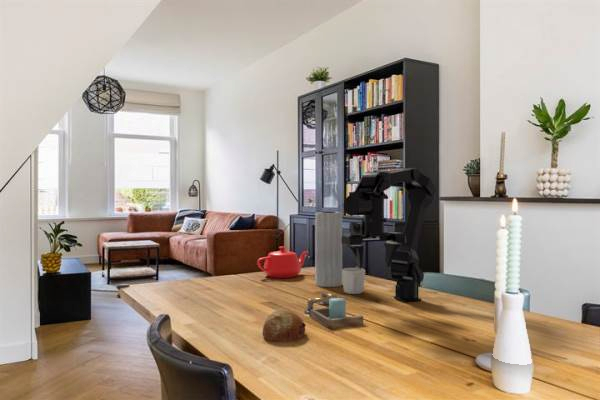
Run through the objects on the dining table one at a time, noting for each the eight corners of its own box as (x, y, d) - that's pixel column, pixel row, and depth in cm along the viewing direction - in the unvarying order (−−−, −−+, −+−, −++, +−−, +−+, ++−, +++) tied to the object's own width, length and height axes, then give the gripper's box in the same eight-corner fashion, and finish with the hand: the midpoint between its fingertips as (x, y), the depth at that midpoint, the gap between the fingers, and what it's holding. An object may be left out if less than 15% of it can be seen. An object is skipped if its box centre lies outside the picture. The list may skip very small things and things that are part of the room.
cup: (364, 297, 148) (364, 273, 148) (339, 296, 149) (339, 272, 149) (365, 291, 158) (366, 268, 158) (343, 290, 160) (343, 267, 160)
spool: (341, 317, 125) (341, 297, 125) (350, 321, 120) (350, 301, 120) (324, 318, 123) (324, 298, 123) (332, 323, 118) (333, 302, 118)
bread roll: (269, 344, 113) (255, 315, 113) (307, 326, 114) (293, 297, 113) (270, 358, 103) (255, 327, 103) (311, 338, 104) (296, 307, 104)
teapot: (267, 282, 175) (267, 250, 175) (248, 276, 188) (248, 246, 187) (319, 275, 189) (319, 246, 189) (298, 270, 202) (298, 243, 202)
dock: (341, 313, 129) (341, 306, 129) (363, 324, 118) (363, 316, 118) (309, 316, 125) (309, 309, 125) (328, 328, 114) (328, 320, 114)
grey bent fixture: (326, 301, 142) (326, 289, 142) (344, 310, 132) (344, 297, 131) (292, 305, 138) (292, 292, 138) (307, 314, 127) (307, 301, 127)
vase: (324, 281, 176) (324, 211, 176) (347, 284, 170) (347, 211, 170) (310, 285, 168) (310, 212, 168) (333, 288, 162) (333, 212, 162)
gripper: (386, 213, 144) (386, 262, 145) (333, 214, 138) (333, 265, 138) (407, 214, 134) (406, 267, 134) (350, 215, 127) (350, 271, 127)
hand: (373, 267), depth 134 cm, fingers open, 9 cm apart
